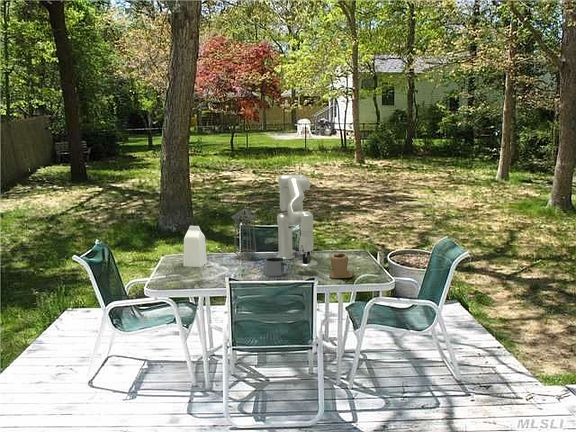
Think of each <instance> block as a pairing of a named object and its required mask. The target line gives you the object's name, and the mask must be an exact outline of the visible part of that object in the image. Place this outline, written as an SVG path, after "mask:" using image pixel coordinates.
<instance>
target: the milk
mask: <svg viewBox="0 0 576 432" xmlns="http://www.w3.org/2000/svg"><path fill="white" fill-rule="evenodd" d="M206 263H207V264H208V258H207V247H206V236H205V234H204V233H203V232H202V230H201V228H200V226H199V225H189V227H188V229H187V231H186V233H185V236H184V238H183V265H182V266H183V267H190V268H191V267H192V268H202V267H203V266H205V265H206ZM204 264H205V265H204ZM201 266H202V267H201Z"/></svg>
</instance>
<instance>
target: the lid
mask: <svg viewBox="0 0 576 432" xmlns="http://www.w3.org/2000/svg"><path fill="white" fill-rule="evenodd" d="M295 265H296V266H299V267H300V268H302V269H303V268H304V269H305V268H306V269H309V268H314V267H316V266H317V265H318V261H316V260H312V259H311V262H310V255H309V254H307V263H303V259H299V260H296V261H295Z"/></svg>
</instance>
